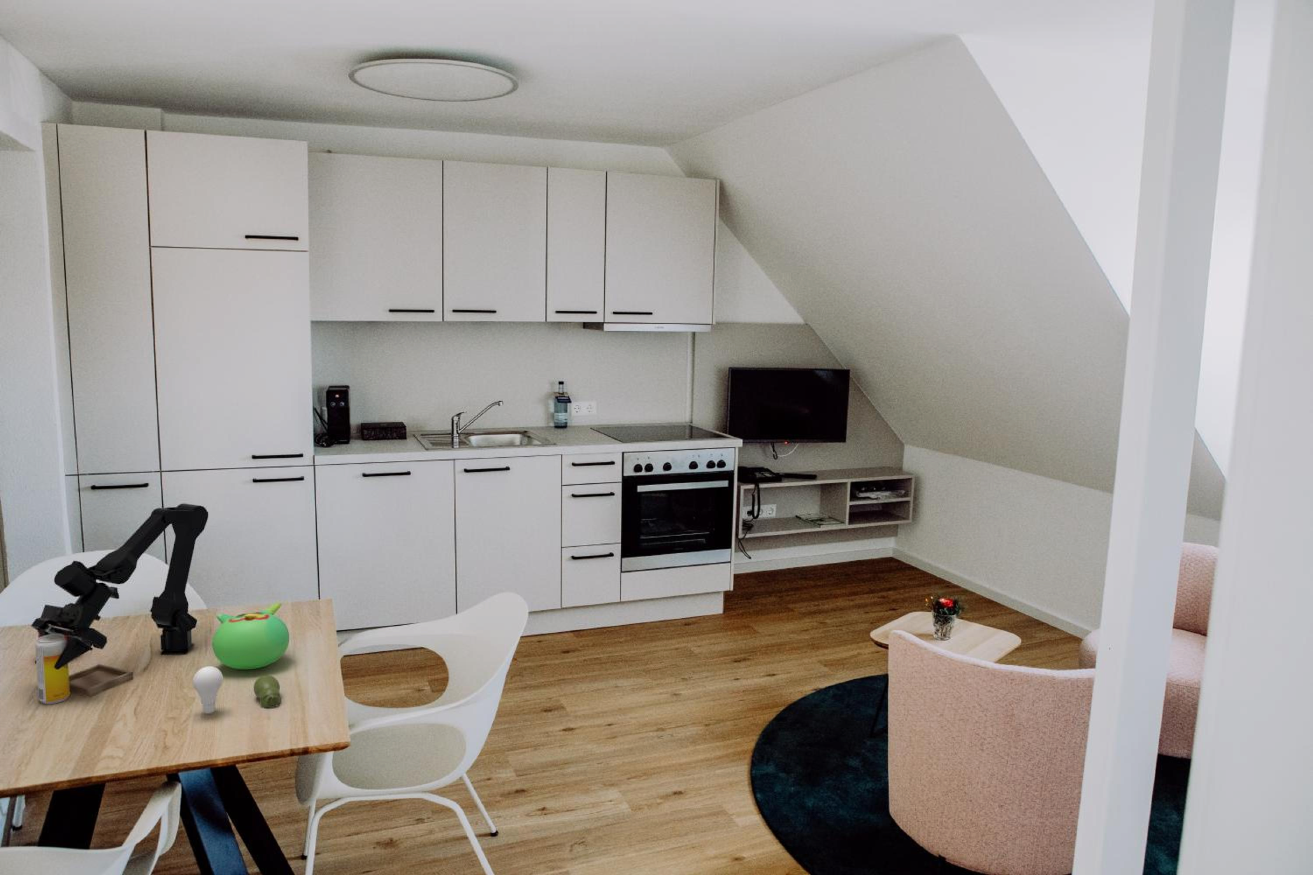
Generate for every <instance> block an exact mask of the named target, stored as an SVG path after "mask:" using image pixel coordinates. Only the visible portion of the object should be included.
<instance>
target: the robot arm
mask: <svg viewBox="0 0 1313 875" xmlns="http://www.w3.org/2000/svg"><path fill="white" fill-rule="evenodd" d="M208 520H209V511H207V508H206V507H205V506H203V505H197V504H190V503H180V504H178V505H177V506H171V507H167V506H166V507H158V508H155V509H153V510H152V511H151V513H150V516H148V518H147V519H146V520H145V521H144V522H143V523H142V524H141V525H140V526H139V527H138V528H137V529H136V531H135V532H133V534H132V535H131V536H130V537H128V539H127V540H126V541H125V542H124V543H123V545H121V546H120V547H119V548H117V549H114V550H113V551H111V552H109V553H107V554H105V556H103V557H102V558H100V559H99V560H98V561H97V562H96V564H95V565H94V564H93V565H92V566H90V567H87V566H86V565H85V564H84V563H83V562H81V561H80V560H73V561H72V562H71V563H70V564H68V565H65V566H64V567H63V568H61V569H60V570H58V571H57V573H56V574H55V575H54V580H53V582H54V584H55V585H56V586H58V587H59V588H61V590H63V591H65V592H66V593H68V594H69V595H70V596H72V597H74V598H77V597H78V598H77V599H76V601H75V602H74V603H72V602H69V603H68V604H65V605H63V607H62V606H56V605H50V604H44V607H43V610H42V613H41V615H40V617H38V618H35V619H34V621H33V622H32V624H31V625H30V627H31V628H33V629H35V630H36V631H37V633H40V636H41V637H42V636H45V635H50V634H62V635H64V636H67V646H66V647H65V649H64V651H63V652H62V654H61V655H60V657H59V659H58V660H57V662H56V664H55V666H54V668H55V669H57V670H58V669H60V668H61V667H63V666H65V665H66V664H68V665H69V663H71V662H72V661H74V660H75V659H77V658H78V657H81V656H82V655H84V654H85V653H87V652H89V651H93V650H94V648H95V649H99V650H103V649H104V648H105V646H106V645H107V643H108V637H107V636H106V635H105V634H103V633H102V632H100V631H98V630H97V629H95V628H92V627H91V625H92V624H93V623H94V622H95V621H100V619H101V618H102V617H101V616H100V615H99V614H100V613H101V611H102V610H103V608H104V607H105V606H106V604H107V602H108V601H109V600H110V598H111V599H115V600H119V599H120V593H119V591H118V590H119V588H118V587H116V586H109V585H108V584H106V583H109V584H113V585H122V584H125V583H126V582H127V581H129V579H130V578H131V577H132V575H133V573H135V571H136V569H137V567H138V566H137V565H138V561H139V559H140V558H141V557H142V555H143V554H144V553H145V552H146V551H147V550H148V549H149V548H150V547H151V545H152V544H154V542H155V541H156V540H157V539H158V538H159V537H160V536H161V534H163V533H164V532H165V530H167V528H168V527H169V526H170V525H171V527H172V530H173V533H174V536H175V537H174V538H175V539H174V542H173V548H172V552H171V557H170V561H169V564H168V565H169V566H168V571H167V574H166V575H167V576H166V580H165V585H164V589H163V591H162V592H161V593H160V594H159V596H157V595H156V596H154V597H153V599H152V604H151V605H152V606H151V608H150V610H149V613H151V614H150V615H151V620H153V623H155V624H156V627H157V629H162V630H161V635H160V636H159V637H160V650H161V651H160V655H161V656H162V655H186V654H188V653H189V652H190V651H191V649H193V647H195V643H193V638H192V636H193V635H192V630H193V629H195V628H196V627H197V624H198V620H197V618H195V617H194V616H193V615H191V614H190V613H189V601H188V598H187V595H186V588H187V584H188V579H189V574H190V569H191V566H192V559H193V555H194V551H195V545H196V541H197V538H198V537H199V536H200V535H201V534H202V533H203V531H204V530H205V528H206V525H207V523H208ZM98 581H100V582H98ZM59 624H60V625H59ZM66 631H67V632H66ZM73 633H74V634H73ZM34 663H35V664H36V660H35V662H34Z"/></svg>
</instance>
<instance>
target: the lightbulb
mask: <svg viewBox="0 0 1313 875" xmlns="http://www.w3.org/2000/svg"><path fill="white" fill-rule="evenodd" d="M223 678H224V676H223V674H222V672H221V670H220V669H218V668H216V667H215V666H203V667H202V668H200V669H199V670H197V671H196V672H195V674H194V676H193V680H192V685H193V688H194V690H195V692H197V693H198V696H199V698H200V703H201V705H202V712H203V713H205V714H207V715H211V714H212V713H213V712H215V711H216V702H217V696H218V693H219V690H220V688H221V687H222V685H223V682H224V681H223V680H224V679H223Z"/></svg>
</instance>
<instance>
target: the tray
mask: <svg viewBox="0 0 1313 875" xmlns="http://www.w3.org/2000/svg"><path fill="white" fill-rule="evenodd" d="M132 680H134V672H133V671H130V670H125V669H121V668H117V667H112V666H109V665H104V664H99V663H98V664H95V665H93V666H91V667H88V668H84V669H83V670H80V671H77V672H75V673H73V674H69V687H70V694H75V695H79V696H83V697H86V698H87V697H88V698H90V697H93V696H96V695H98V694H101V693H103V692H105V691H108V690H110V689H113V688H115V687H117V686H119V685H120V686H121V685H123V684H125V683H127V682H129V681H132Z"/></svg>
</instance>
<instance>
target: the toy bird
mask: <svg viewBox="0 0 1313 875" xmlns="http://www.w3.org/2000/svg"><path fill="white" fill-rule="evenodd" d="M282 604H283V603H281V602H278V603H275V604H273V605H270V606H269V607H267V608H265V609H263V610H260V611H258V612H248V613H241V614H238V615H235V616H232V615H229V614H225V613H218V614H216V618H217V620H218V621H219V622H220V623H221V625H219V627H218V628H217V629H216V631H215V632H214V635H213V638H212V639H213V640H212V651H213V653H214V655H215V657H216V659H217V661H219V662H220V663H221V664H223V665H224V666H226V667H229V668H232V669H236V670H255V669H260V668H264V667H266V666H269V665H271V664H273V663H276V662H277V661H278V660H279V659H280V658H281V657H283V656H284V655H285V653H286V652H287V649H288V647H289V644H290V632H289V628H288V627H287V625H286V623H285V622H284V621H283V620H282V619H281V618H280V617H277V616H276V615H275V614H276V613H277V612H278V610H279V609H280V607H281V606H282Z"/></svg>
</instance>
